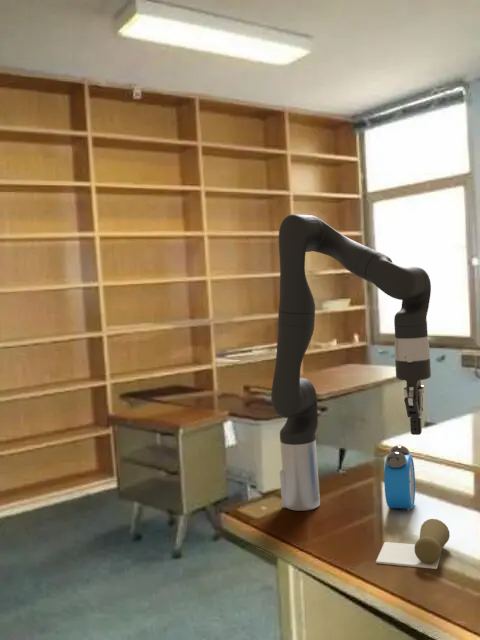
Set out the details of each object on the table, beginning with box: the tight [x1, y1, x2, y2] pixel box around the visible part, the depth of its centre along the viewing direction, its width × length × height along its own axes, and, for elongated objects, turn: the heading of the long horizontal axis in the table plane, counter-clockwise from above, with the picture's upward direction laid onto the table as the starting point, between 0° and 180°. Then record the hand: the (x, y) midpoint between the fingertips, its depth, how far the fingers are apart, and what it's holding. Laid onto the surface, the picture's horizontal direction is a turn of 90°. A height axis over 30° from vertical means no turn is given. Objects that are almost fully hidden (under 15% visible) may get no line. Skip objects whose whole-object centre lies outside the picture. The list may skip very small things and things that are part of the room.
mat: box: [375, 541, 443, 570], centre depth 136 cm, size 12×10×1 cm
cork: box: [414, 518, 451, 564], centre depth 134 cm, size 6×6×11 cm
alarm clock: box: [383, 444, 416, 512], centre depth 163 cm, size 13×6×15 cm, turn 159°
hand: (416, 433), depth 146 cm, fingers closed
